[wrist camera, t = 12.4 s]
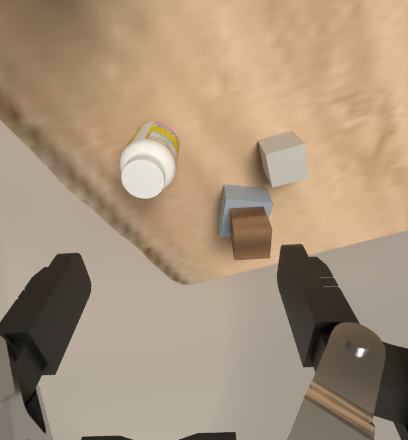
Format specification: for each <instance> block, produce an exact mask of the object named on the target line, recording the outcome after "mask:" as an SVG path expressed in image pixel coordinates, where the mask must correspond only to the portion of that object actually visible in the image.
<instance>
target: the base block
mask: <svg viewBox="0 0 408 440" xmlns="http://www.w3.org/2000/svg"><path fill="white" fill-rule="evenodd" d="M272 205H273V202H272V200H271V198H270V196H269V193H268V191H267V189H264V188H254V187H244V186H233V185H224V188H223V194H222V200H221V206H220V212H219V218H218V225H219V236H220V237H225V238H231V231H230V208H245V207H261V206H264V209H265V212H266V214H267V217H268V219H269V215H270V212H271V208H272Z"/></svg>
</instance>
